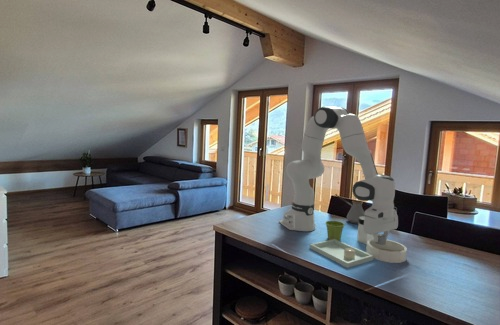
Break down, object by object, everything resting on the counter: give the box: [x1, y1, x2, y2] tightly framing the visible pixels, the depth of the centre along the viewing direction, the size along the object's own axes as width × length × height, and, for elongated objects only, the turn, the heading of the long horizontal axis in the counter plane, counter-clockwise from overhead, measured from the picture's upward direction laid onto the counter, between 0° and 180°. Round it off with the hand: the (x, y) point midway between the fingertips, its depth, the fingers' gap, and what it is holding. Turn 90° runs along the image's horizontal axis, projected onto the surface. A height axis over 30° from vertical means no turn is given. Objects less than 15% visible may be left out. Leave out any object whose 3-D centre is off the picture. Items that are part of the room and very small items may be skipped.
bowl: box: [365, 239, 408, 264], centre depth 130 cm, size 16×16×5 cm
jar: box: [356, 215, 374, 246], centre depth 147 cm, size 9×8×12 cm
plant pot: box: [325, 220, 345, 241], centre depth 149 cm, size 9×9×9 cm
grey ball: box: [375, 233, 386, 245], centre depth 133 cm, size 4×4×4 cm
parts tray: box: [309, 239, 374, 269], centre depth 130 cm, size 22×16×2 cm
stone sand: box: [344, 248, 355, 260], centre depth 126 cm, size 4×4×4 cm
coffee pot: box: [333, 194, 366, 225], centre depth 184 cm, size 21×12×15 cm, turn 45°
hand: (380, 240), depth 133 cm, fingers closed on grey ball, 4 cm apart
